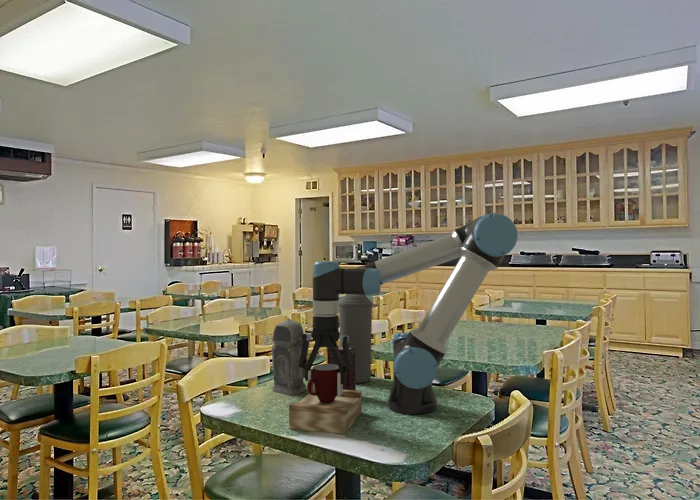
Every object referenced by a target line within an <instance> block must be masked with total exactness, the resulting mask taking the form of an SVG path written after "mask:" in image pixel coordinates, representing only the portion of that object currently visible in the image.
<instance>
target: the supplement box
mask: <svg viewBox="0 0 700 500" xmlns="http://www.w3.org/2000/svg"><path fill="white" fill-rule="evenodd" d="M326 349H327V351H326V353H327V358H326V359H327V364H335V365H337V363H336V360H335V358H334V355H333V353H332V351H331V350H330V348H326ZM338 349H339V352H340V354H341V357H342V359H343V362H344V364H345V359H344V353H343V347H340V345H339V346H338ZM349 349H350V355H351V361H352V367H353V368H352V369H351V370H350V371H347V372H346V382H345V384H343V389H344V390H356V389H357V388H356V384H357V383H355V348H350V347H349ZM345 366H346V365H345Z"/></svg>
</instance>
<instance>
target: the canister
mask: <svg viewBox="0 0 700 500" xmlns="http://www.w3.org/2000/svg"><path fill="white" fill-rule="evenodd" d="M338 316H339V333H340V334H341V335H345V336H346V335H349V337H350V338H349V347H350V348H355V383H356V384H364V383H367V382H369V381H371V374H372V373H371V372H372V366H371V365H372V330H373V329H372V328H373V326H372V325H373V323H372V321H373V319H372V318H373V302H372V301H371V299H370V298H368V295H356V294H344V296H343V297H342V299H340V300H339V313H338ZM339 346H340V347H342V343H341V340H340V339H339Z"/></svg>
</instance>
